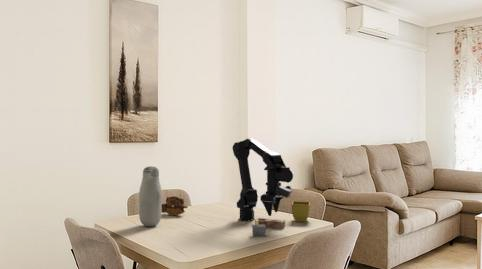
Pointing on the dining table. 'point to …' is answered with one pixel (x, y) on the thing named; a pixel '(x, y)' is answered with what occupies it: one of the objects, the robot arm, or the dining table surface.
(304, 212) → the flower pot
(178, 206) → the wooden carving
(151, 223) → the grey tall rounded cylinder
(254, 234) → the keeper
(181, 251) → the dining table surface
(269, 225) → the link
